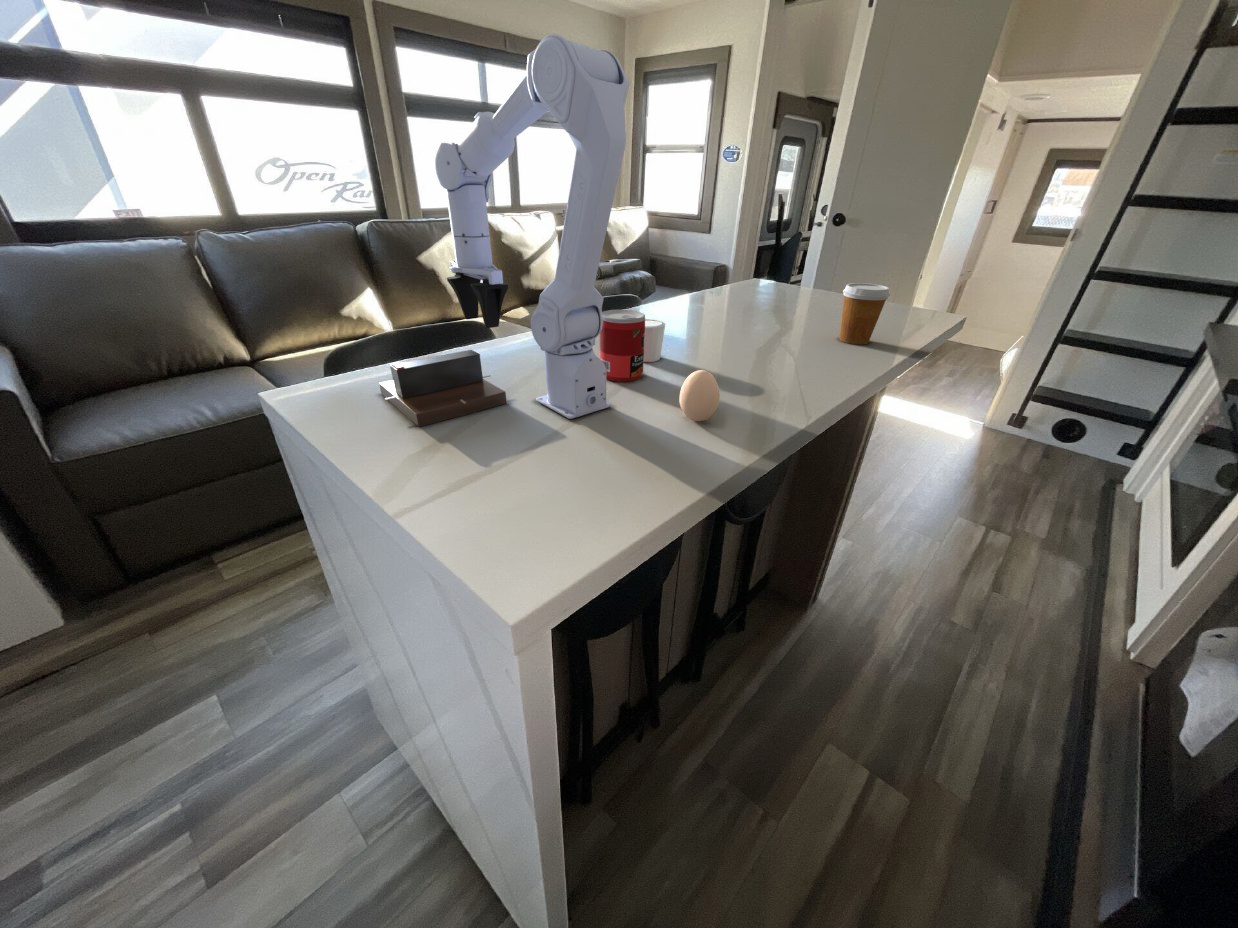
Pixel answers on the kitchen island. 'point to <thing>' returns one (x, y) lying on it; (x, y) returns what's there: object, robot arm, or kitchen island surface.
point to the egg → (699, 395)
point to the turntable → (445, 401)
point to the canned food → (622, 344)
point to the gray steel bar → (436, 373)
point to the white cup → (653, 340)
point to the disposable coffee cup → (861, 311)
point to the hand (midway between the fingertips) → (481, 322)
